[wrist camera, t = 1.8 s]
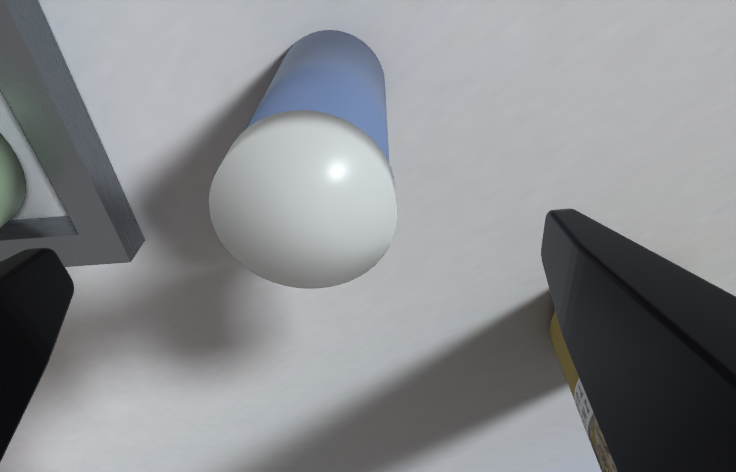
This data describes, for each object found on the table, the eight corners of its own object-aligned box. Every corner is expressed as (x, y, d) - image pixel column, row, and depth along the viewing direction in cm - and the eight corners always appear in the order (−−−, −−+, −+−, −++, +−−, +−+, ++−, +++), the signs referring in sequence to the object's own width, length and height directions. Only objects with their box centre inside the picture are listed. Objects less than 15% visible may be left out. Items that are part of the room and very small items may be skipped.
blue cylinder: (382, 18, 16) (389, 121, 9) (391, 128, 18) (402, 282, 11) (267, 30, 16) (183, 140, 9) (289, 137, 18) (235, 293, 11)
